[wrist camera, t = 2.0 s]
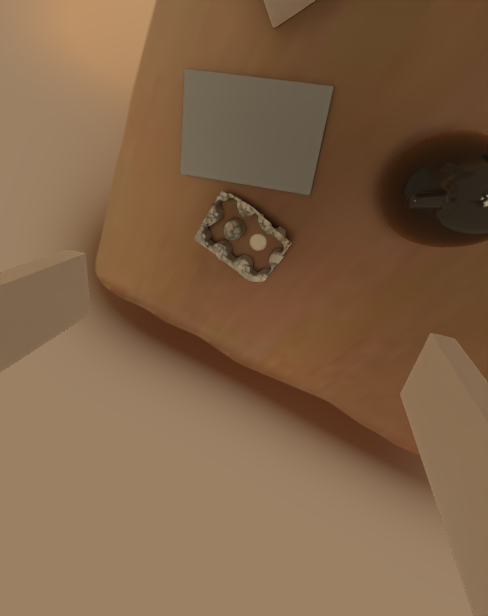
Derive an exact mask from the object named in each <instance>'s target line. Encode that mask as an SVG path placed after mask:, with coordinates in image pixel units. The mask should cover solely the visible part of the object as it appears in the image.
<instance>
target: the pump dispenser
mask: <svg viewBox="0 0 488 616" xmlns="http://www.w3.org/2000/svg"><path fill="white" fill-rule="evenodd" d="M382 207H383V212H384V215H385V217H386V220H387V221H388V223H389V225H390V226H391V227H392V228H393V230H394V231H395V232H397V233H398V234H399V235H400V236H402V237H403V238H405V239H407V240H409V241H411V242H414V243H417V244H421V245H426V246H432V247H460V246H468V245H473V244H478V243H481V242H484V241H487V240H488V135H486V134H482V133H478V132H472V131H447V132H442V133H438V134H435V135H432V136H429V137H427V138H425V139H423V140H421V141H419V142H417V143H416V144H414V145H413V146H411V147H410V148H409V149H408V150H406V151H405V152H404V153H403V154H402V155H401V156H400V157H399V159H398V160H397V161H396V162H395V164H394V165H393V167H392V168H391V170H390V172H389V174H388V176H387V178H386V181H385V184H384V187H383V193H382Z"/></svg>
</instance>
